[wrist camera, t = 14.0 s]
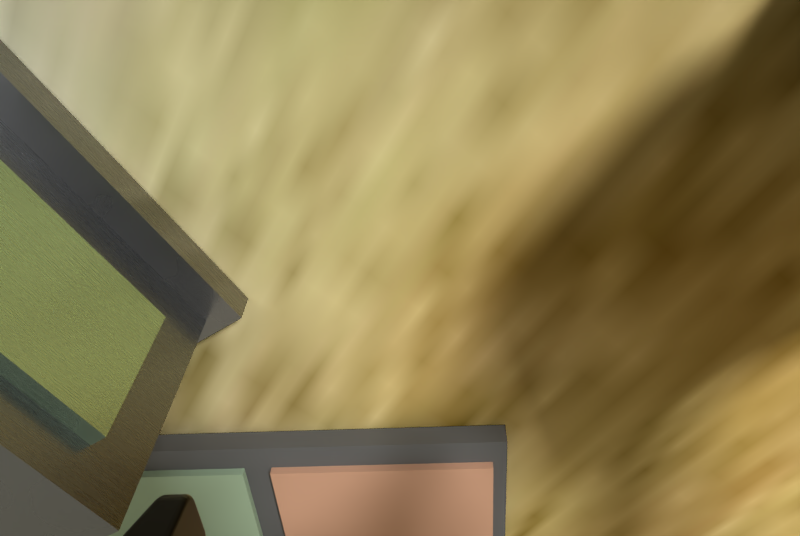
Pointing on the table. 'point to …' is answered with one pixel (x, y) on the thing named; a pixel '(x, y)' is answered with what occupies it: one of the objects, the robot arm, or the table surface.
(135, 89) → the table surface
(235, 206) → the table surface
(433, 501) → the sorting board
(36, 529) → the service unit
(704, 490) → the table surface
